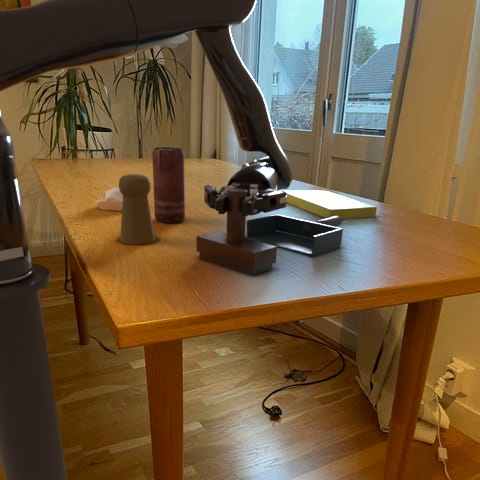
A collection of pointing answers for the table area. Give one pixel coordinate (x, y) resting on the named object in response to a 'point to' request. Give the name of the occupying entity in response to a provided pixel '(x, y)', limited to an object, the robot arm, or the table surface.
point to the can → (169, 184)
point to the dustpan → (296, 233)
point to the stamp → (236, 242)
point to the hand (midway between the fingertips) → (233, 207)
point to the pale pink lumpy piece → (111, 200)
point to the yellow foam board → (330, 204)
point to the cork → (136, 210)
